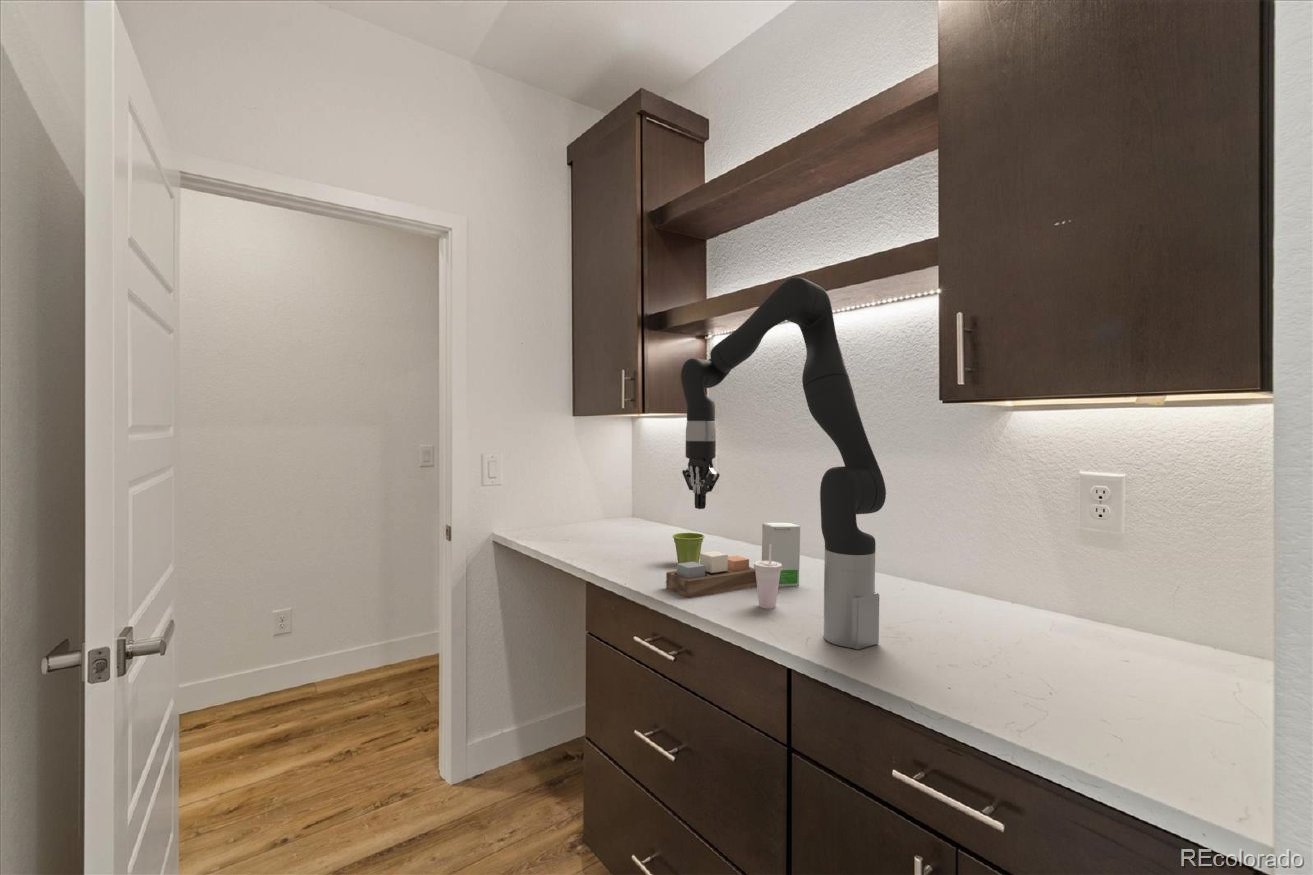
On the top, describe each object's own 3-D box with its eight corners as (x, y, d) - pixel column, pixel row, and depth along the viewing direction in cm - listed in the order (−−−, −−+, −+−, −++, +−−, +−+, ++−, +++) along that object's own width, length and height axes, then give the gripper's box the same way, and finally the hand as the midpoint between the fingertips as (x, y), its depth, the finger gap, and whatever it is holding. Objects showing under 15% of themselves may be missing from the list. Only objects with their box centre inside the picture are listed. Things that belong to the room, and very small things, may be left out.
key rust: (748, 574, 153) (749, 559, 153) (733, 577, 150) (733, 561, 150) (736, 570, 157) (736, 555, 157) (721, 572, 155) (721, 557, 155)
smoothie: (774, 612, 130) (774, 548, 130) (748, 606, 134) (748, 545, 134) (786, 605, 135) (787, 544, 135) (761, 600, 139) (761, 540, 139)
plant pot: (694, 570, 167) (694, 539, 167) (666, 565, 173) (666, 536, 172) (710, 564, 175) (710, 534, 175) (682, 559, 180) (682, 531, 180)
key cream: (727, 570, 149) (727, 554, 149) (711, 572, 147) (711, 556, 147) (715, 566, 154) (715, 551, 153) (699, 568, 151) (700, 553, 151)
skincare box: (770, 588, 150) (771, 526, 149) (759, 581, 156) (760, 522, 156) (800, 586, 152) (801, 525, 151) (789, 579, 158) (789, 521, 158)
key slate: (704, 581, 146) (705, 565, 146) (688, 584, 143) (688, 567, 143) (693, 577, 150) (693, 561, 150) (676, 579, 147) (676, 563, 147)
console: (759, 585, 152) (759, 570, 152) (688, 598, 140) (688, 581, 140) (735, 577, 160) (735, 562, 160) (666, 588, 149) (666, 572, 149)
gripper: (729, 439, 144) (728, 510, 145) (697, 438, 155) (696, 504, 156) (704, 440, 140) (704, 513, 141) (673, 438, 151) (672, 506, 152)
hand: (700, 508), depth 148 cm, fingers closed
